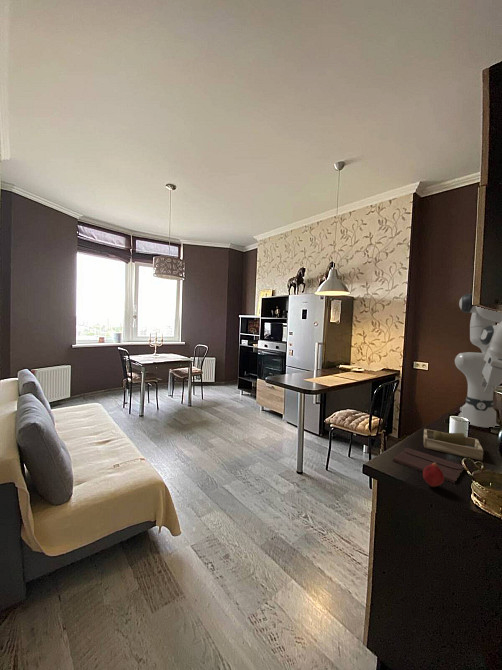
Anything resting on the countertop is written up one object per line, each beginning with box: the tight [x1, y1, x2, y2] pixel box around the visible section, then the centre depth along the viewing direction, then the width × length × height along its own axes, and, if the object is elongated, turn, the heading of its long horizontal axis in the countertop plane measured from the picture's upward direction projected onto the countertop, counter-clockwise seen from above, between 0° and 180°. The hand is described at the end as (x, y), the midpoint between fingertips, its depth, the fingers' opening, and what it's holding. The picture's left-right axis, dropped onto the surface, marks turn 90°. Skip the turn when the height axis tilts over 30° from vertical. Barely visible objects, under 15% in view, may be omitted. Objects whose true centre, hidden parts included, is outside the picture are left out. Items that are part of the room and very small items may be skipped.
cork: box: [433, 430, 466, 446], centre depth 128 cm, size 6×6×11 cm
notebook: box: [392, 447, 465, 484], centre depth 110 cm, size 15×20×2 cm
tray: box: [423, 428, 484, 461], centre depth 127 cm, size 14×20×4 cm
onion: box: [422, 463, 445, 488], centre depth 95 cm, size 6×6×8 cm
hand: (484, 389), depth 125 cm, fingers open, 8 cm apart
